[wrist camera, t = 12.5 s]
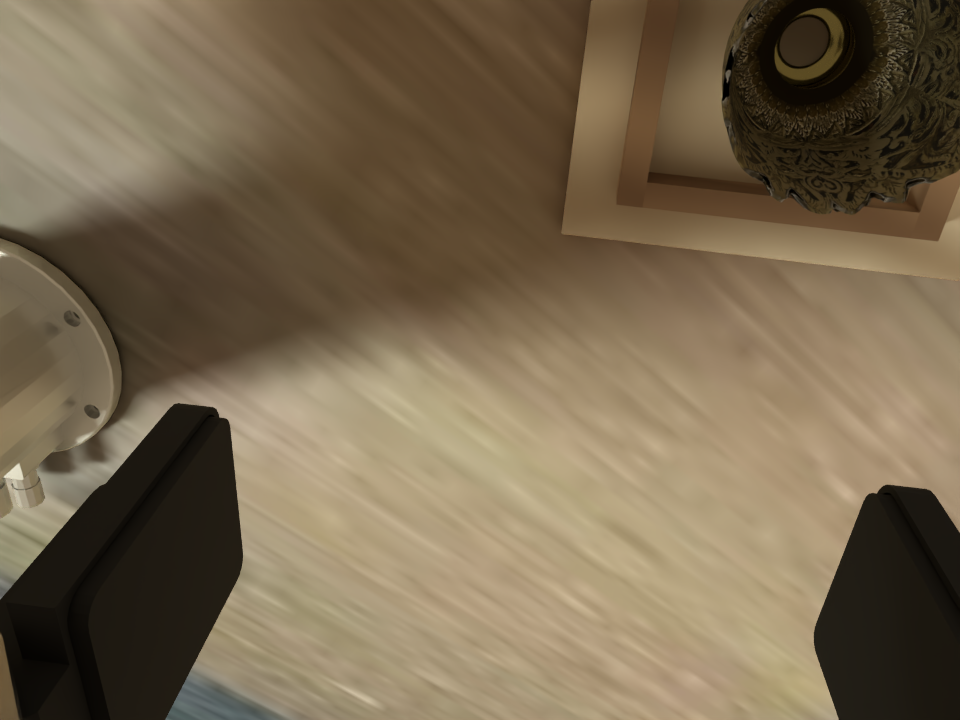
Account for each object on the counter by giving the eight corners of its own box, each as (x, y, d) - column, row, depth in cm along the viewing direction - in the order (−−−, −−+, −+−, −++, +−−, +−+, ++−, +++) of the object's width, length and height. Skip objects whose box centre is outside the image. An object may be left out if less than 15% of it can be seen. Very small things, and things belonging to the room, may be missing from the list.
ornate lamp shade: (877, 155, 29) (959, 230, 23) (679, 137, 30) (700, 204, 23) (948, -70, 26) (1073, -62, 19) (720, -85, 26) (760, -82, 19)
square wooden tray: (949, 271, 32) (973, 296, 30) (562, 225, 34) (558, 246, 31) (1140, -205, 24) (1192, -217, 22) (622, -237, 26) (622, -252, 23)
